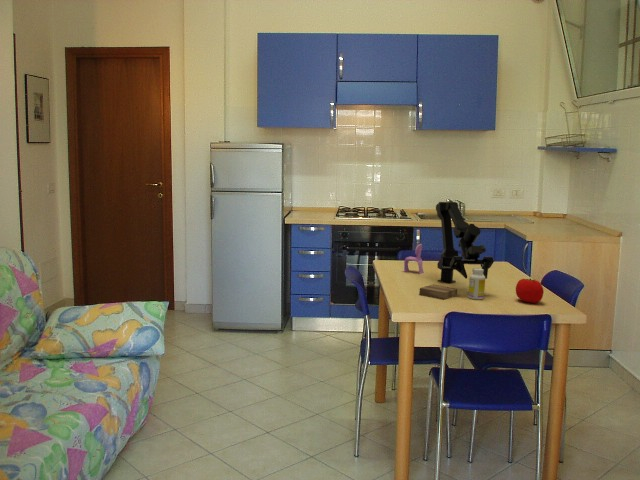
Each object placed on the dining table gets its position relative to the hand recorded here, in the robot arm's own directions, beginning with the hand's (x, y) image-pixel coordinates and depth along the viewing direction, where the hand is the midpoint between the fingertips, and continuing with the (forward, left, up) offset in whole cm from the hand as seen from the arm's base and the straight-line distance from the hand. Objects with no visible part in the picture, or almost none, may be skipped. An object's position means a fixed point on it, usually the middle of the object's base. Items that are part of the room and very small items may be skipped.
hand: (476, 278), depth 308 cm
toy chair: (-29, -48, -9) cm, 57 cm away
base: (+9, -13, -9) cm, 18 cm away
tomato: (-11, +20, -9) cm, 24 cm away
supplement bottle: (+1, +1, -9) cm, 9 cm away
